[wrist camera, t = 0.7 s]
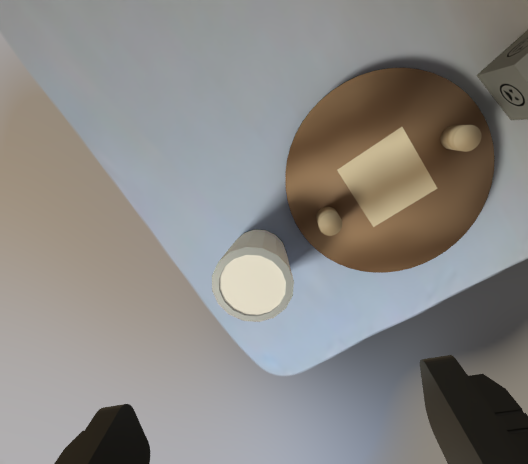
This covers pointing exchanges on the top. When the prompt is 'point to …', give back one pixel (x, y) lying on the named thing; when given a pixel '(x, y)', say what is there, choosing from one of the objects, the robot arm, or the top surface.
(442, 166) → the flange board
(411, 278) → the top surface
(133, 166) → the top surface
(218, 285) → the white cup
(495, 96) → the dice cube
